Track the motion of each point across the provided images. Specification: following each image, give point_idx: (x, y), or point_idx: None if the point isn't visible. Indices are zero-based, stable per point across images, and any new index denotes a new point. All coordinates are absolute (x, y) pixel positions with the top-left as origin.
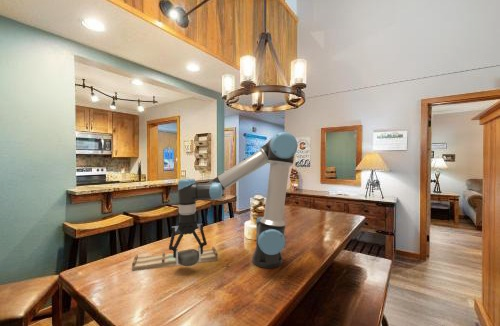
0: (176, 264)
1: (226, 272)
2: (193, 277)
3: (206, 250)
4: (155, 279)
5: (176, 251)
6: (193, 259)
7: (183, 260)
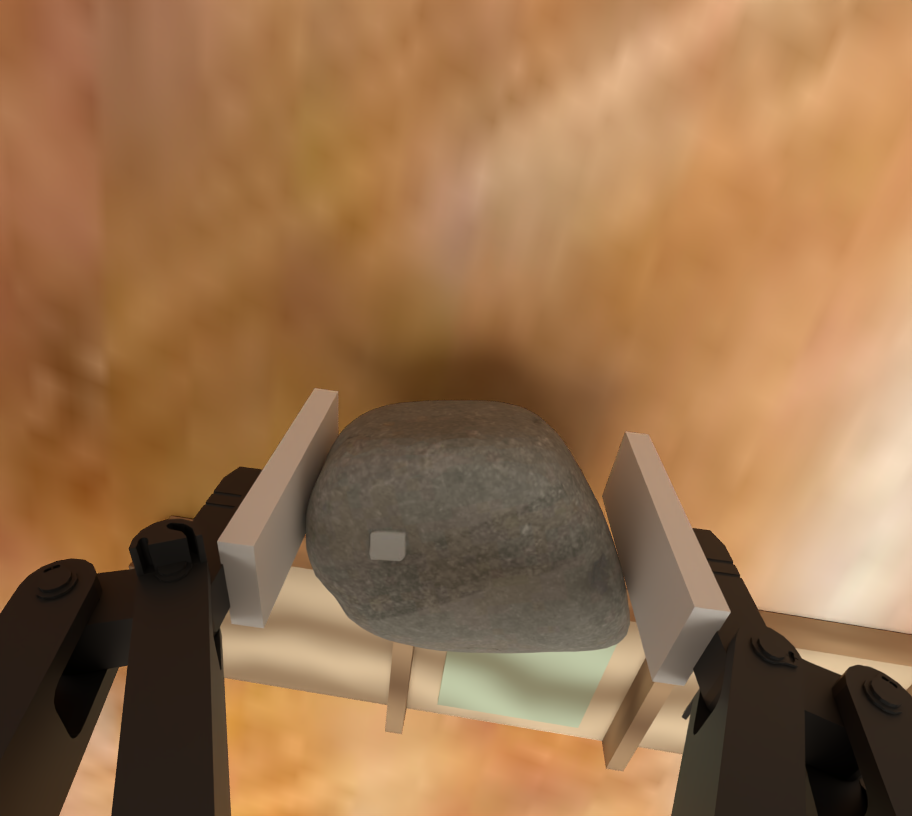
0: (652, 444)
1: (73, 237)
2: (448, 286)
3: (249, 674)
4: (819, 417)
5: (717, 603)
6: (410, 420)
7: (564, 447)
